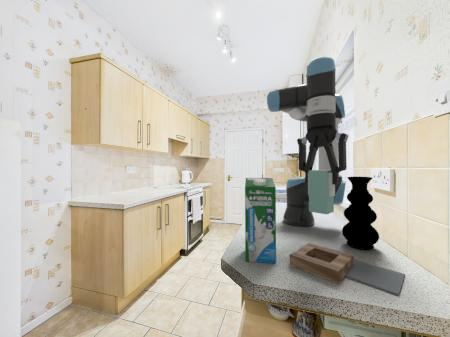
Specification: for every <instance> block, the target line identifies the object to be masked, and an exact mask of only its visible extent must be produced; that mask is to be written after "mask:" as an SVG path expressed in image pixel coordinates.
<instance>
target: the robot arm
mask: <svg viewBox="0 0 450 337" xmlns="http://www.w3.org/2000/svg"><path fill="white" fill-rule="evenodd" d="M336 71H337V70H336V61H335V59H334V58H333V57H331V56H329V57H328V56H322V57H318V58H316V59H313V60H311V61H310V62H309V63H308V64H307V66H306V75H305V77H306V84H300V85H296V86H291V87H285V88H281V89H275V90H272V91H269V92H268V93H267V97H266V101H267V103H266V104H267V105H266V106H267V109H268V110H269V112H270V113H273V112H274V113H275V112H276V113H278V112H283V113H284V114H285V113H286V114H288V115H289V117H290V118H291V119H294V120H295V121H300V122H306V134H305V136H304V137H301V138H297V140H296V141H297V144H298V170H299V171H302V172H304V177H297V178H295V177H294V178H289V179H287V181H286V187H285V188H286V208H285V210H284V214H283V217H282V218H283V221H282V222H283V223H285V224H287V225H290V226H296V227H311V226H314V225H315V217H314V214H313V212H309V170H313V168H314V164H315V160H316V156H317V152H318V170H331V172H332V173H329V197H333V196H334V206H335V205H338V206H340V205H341V204H343V202H344V197H345V190H346V183H347V182H346V181H345V180H344V179H343V176H342V175H341V174H340V173H341V172H344V171H346V170H347V167H348V166H347V142H348V138H349V135H348V134H347V133H344V132H342V133H340V132H339V124H341V123H342V122H343V120H342V119H343V118H345V117H346V112H345V111H346V110H345V104H344V103H345V102H344V99H343V98H344V97H343V96H342V94H339V93H336V91H337V89H336ZM307 141H308V143H309V148H308V150H309V151H308V154H307Z"/></svg>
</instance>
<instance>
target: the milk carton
mask: <svg viewBox="0 0 450 337" xmlns="http://www.w3.org/2000/svg"><path fill="white" fill-rule="evenodd" d="M276 190H277V188H276V184H275V182H274V179H273V178H272V177H245V185H244V211H245V212H244V216H245V217H244V221H245V222H244V224H245V226H244V228H245V230H244V235H245V240H244V242H245V243H244V244H245V248H244V249H245V252H244V255H245V259H244V260H245V262H248V263H249V262H250V263H251V262H252V263H266V264H267V263H270V264H276V263H277V235H276V234H277V223H276V222H277V221H276V220H277V218H276V217H277V214H276V212H277V209H276V207H277V206H276V204H277V200H276V197H277V196H276V195H277V194H276V192H277V191H276Z"/></svg>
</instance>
